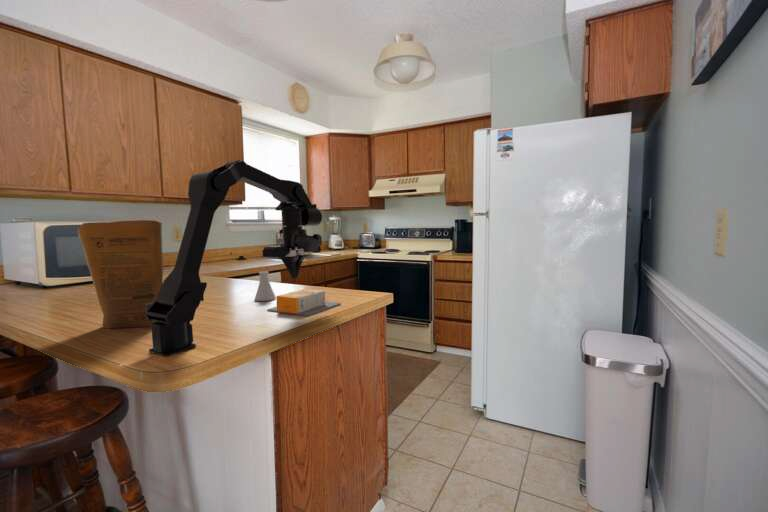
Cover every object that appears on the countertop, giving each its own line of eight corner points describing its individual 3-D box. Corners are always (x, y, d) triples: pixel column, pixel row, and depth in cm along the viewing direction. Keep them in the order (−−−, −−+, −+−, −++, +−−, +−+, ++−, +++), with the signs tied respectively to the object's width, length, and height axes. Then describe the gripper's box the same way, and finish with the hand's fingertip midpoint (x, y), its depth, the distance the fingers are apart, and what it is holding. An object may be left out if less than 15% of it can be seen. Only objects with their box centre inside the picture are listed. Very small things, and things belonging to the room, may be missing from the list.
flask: (260, 297, 127) (259, 270, 126) (279, 297, 126) (278, 270, 125) (250, 301, 120) (248, 273, 119) (270, 302, 119) (268, 273, 118)
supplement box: (275, 295, 102) (305, 288, 113) (276, 311, 102) (305, 302, 114) (297, 297, 98) (325, 290, 110) (297, 314, 98) (325, 304, 110)
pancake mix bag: (162, 328, 89) (154, 219, 87) (84, 331, 88) (73, 221, 86) (176, 321, 96) (168, 220, 94) (103, 324, 95) (94, 222, 92)
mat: (307, 316, 98) (307, 314, 98) (267, 310, 106) (267, 309, 105) (340, 304, 112) (340, 303, 112) (303, 300, 119) (302, 299, 119)
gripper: (289, 225, 90) (292, 285, 91) (333, 225, 106) (335, 275, 107) (259, 226, 95) (262, 282, 96) (305, 226, 111) (307, 274, 113)
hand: (294, 278), depth 103 cm, fingers closed
